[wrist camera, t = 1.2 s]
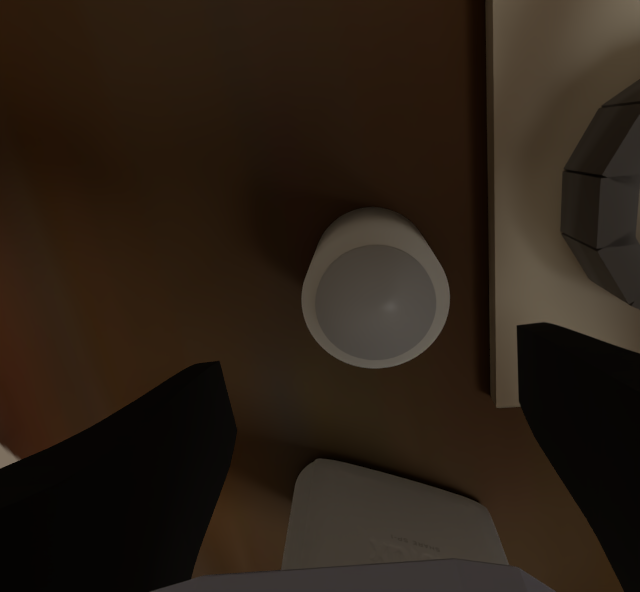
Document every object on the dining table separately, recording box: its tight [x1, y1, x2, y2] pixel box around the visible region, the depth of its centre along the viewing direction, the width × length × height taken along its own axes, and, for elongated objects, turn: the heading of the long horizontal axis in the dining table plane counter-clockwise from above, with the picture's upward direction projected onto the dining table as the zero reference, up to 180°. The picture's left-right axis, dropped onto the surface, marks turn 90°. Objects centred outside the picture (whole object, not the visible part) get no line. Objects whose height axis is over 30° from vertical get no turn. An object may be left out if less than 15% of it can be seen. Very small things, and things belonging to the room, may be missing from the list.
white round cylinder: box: [301, 207, 450, 368], centre depth 18 cm, size 5×5×5 cm
